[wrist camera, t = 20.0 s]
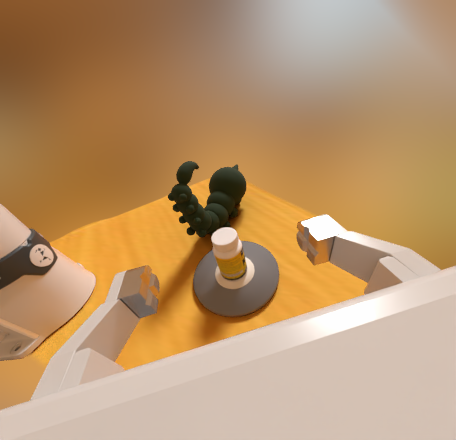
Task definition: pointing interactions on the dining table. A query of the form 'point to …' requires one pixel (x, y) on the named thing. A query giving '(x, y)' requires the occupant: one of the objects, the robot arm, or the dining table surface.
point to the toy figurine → (217, 201)
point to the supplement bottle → (229, 254)
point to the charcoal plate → (237, 283)
